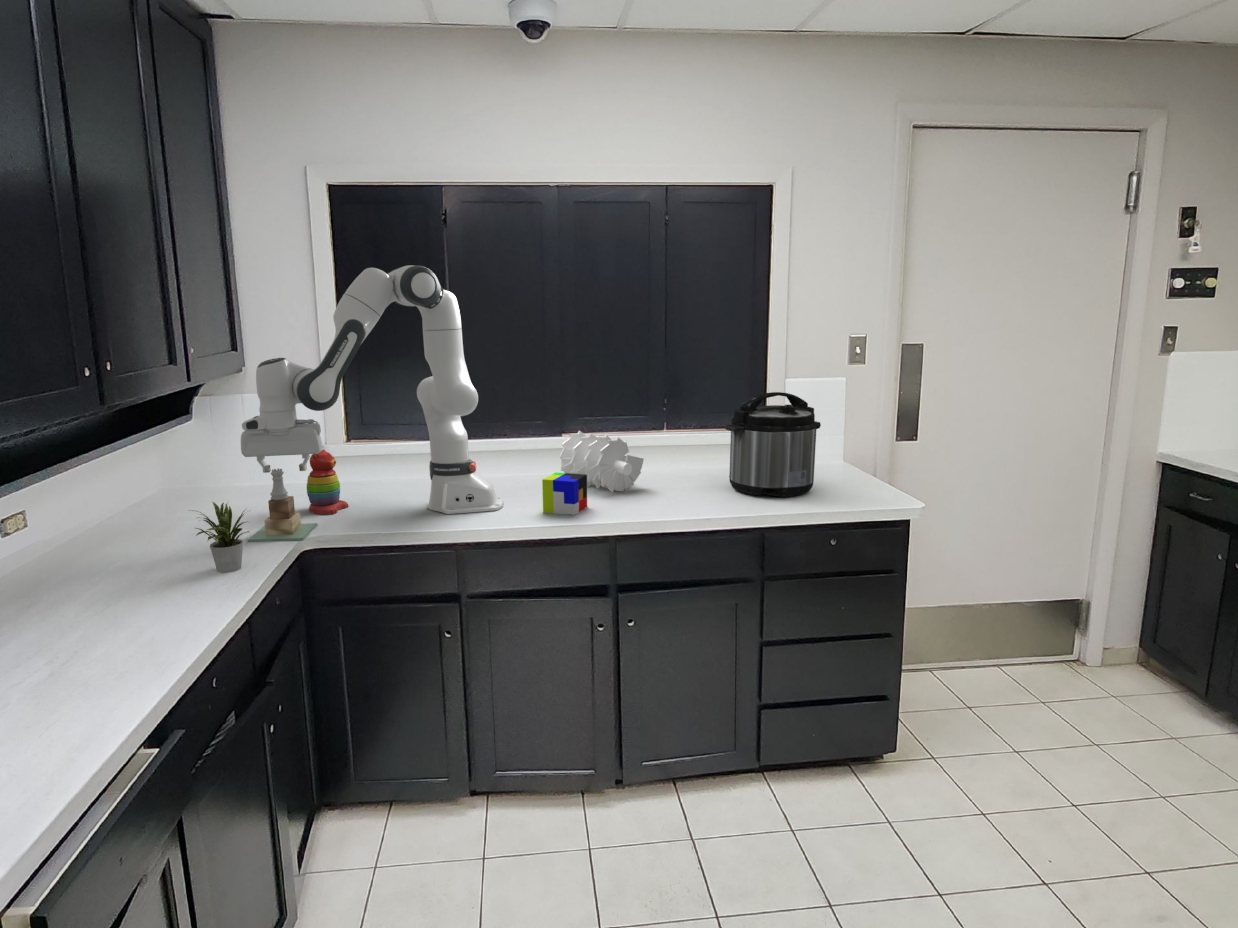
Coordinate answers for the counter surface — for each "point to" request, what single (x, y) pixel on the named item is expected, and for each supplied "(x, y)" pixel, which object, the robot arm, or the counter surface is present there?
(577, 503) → the puzzle toy
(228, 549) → the house plant
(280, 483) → the rook chess piece
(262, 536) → the build pad
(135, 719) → the counter surface
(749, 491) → the pressure cooker
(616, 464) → the spiral staircase
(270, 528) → the oak base block
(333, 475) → the stacking bear
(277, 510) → the walnut cube
